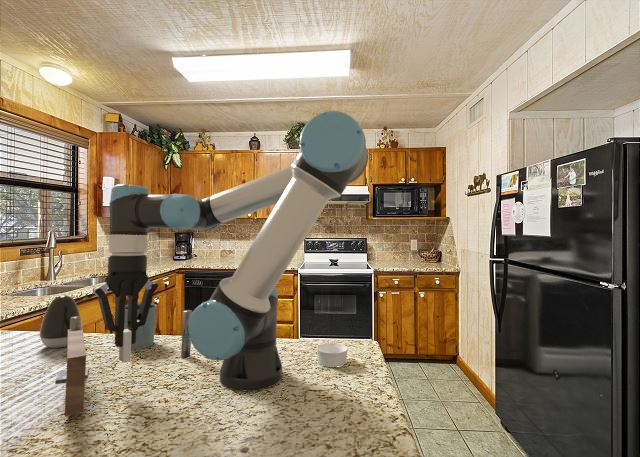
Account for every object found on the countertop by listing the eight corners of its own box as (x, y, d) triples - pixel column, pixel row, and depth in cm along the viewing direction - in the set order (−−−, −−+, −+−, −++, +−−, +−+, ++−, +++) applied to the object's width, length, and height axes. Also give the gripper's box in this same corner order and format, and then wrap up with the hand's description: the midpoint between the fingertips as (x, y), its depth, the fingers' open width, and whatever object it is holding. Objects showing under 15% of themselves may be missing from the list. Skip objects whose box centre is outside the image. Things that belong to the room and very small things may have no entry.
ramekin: (310, 360, 93) (311, 345, 94) (336, 355, 98) (337, 340, 98) (326, 371, 86) (326, 355, 86) (353, 365, 90) (354, 350, 90)
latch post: (191, 357, 93) (192, 311, 93) (182, 358, 92) (183, 312, 92) (189, 354, 95) (191, 309, 95) (180, 356, 94) (182, 310, 94)
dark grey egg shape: (74, 337, 107) (76, 291, 107) (86, 344, 101) (88, 295, 101) (34, 345, 99) (36, 295, 99) (44, 353, 93) (47, 300, 93)
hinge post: (87, 377, 78) (90, 318, 79) (55, 383, 75) (58, 321, 75) (88, 368, 83) (91, 313, 84) (58, 373, 80) (61, 316, 80)
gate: (65, 374, 77) (67, 329, 77) (80, 372, 79) (82, 327, 79) (64, 416, 60) (67, 358, 60) (83, 412, 61) (86, 355, 62)
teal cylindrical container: (136, 351, 96) (138, 310, 96) (110, 347, 99) (112, 307, 99) (163, 341, 106) (164, 304, 106) (138, 337, 109) (140, 301, 109)
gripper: (151, 252, 81) (148, 348, 80) (89, 254, 71) (85, 363, 70) (164, 254, 76) (161, 356, 75) (99, 255, 66) (95, 373, 65)
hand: (124, 359), depth 73 cm, fingers closed
